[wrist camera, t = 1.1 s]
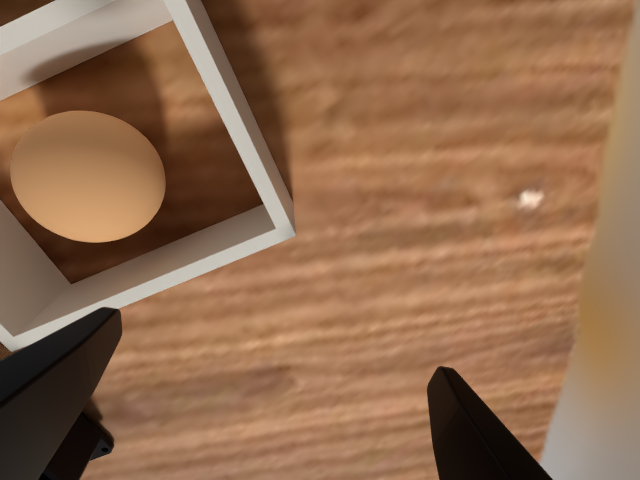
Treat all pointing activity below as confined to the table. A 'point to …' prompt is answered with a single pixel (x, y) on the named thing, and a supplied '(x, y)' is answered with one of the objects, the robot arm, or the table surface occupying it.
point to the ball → (87, 176)
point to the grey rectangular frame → (169, 260)
